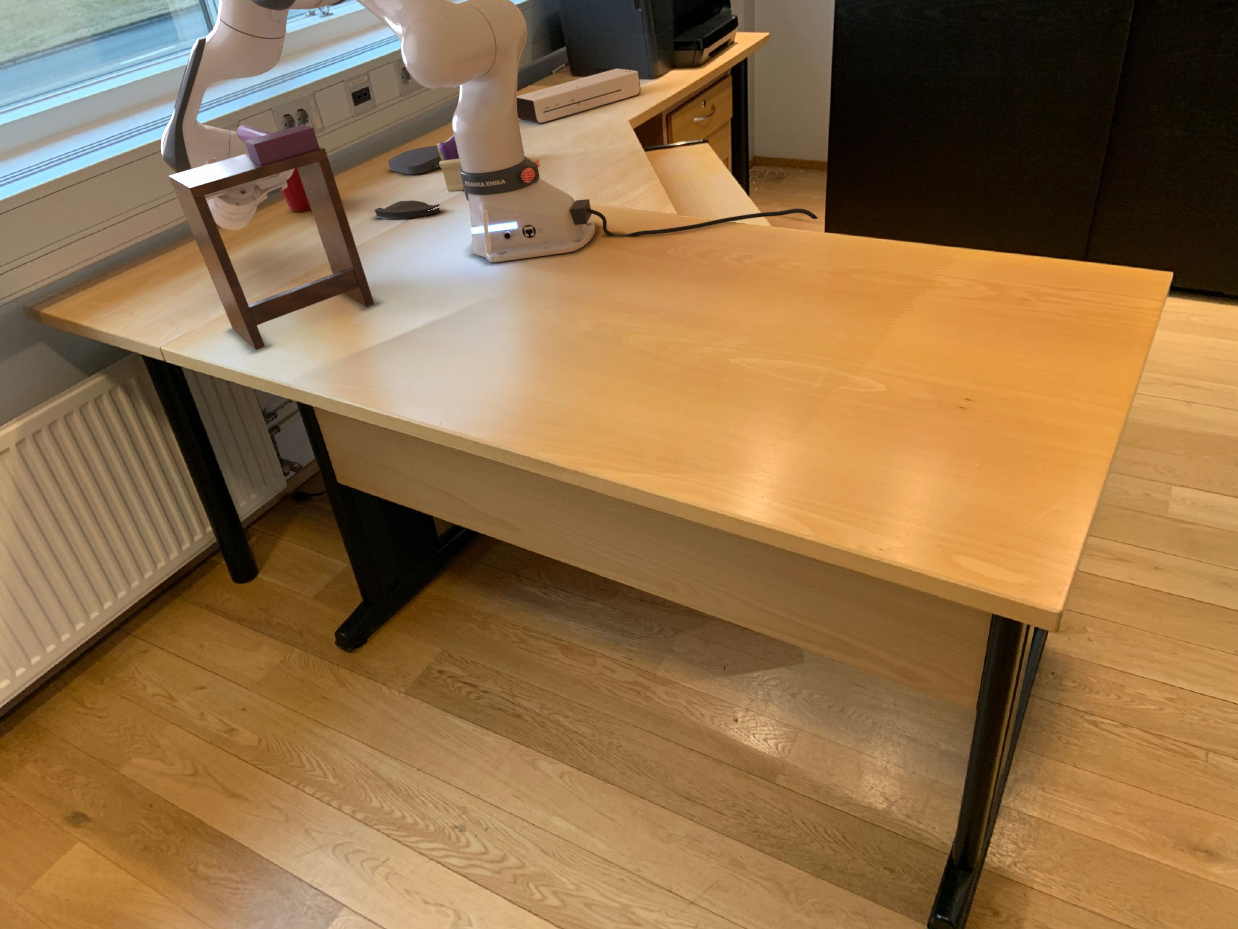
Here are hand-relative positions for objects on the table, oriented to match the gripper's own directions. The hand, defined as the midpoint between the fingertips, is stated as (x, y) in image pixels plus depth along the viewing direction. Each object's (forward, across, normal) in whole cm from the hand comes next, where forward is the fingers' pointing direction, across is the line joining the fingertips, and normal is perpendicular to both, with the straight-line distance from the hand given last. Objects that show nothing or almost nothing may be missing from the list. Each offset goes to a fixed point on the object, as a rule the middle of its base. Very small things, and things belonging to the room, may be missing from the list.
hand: (240, 155), depth 152 cm
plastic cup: (-46, +19, -1) cm, 50 cm away
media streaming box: (-49, +51, -3) cm, 71 cm away
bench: (+10, -5, +31) cm, 32 cm away
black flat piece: (-21, +31, +13) cm, 39 cm away
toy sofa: (-29, +54, +9) cm, 61 cm away
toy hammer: (+18, 0, +6) cm, 19 cm away
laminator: (-57, +104, -8) cm, 119 cm away
